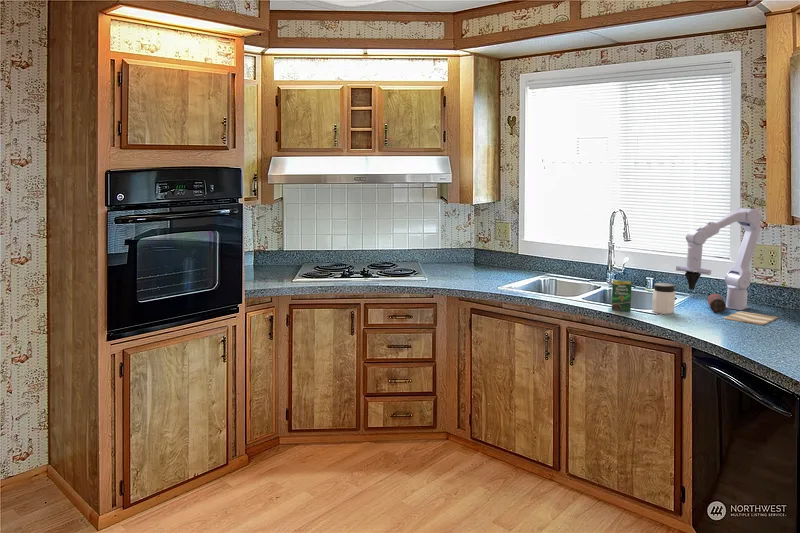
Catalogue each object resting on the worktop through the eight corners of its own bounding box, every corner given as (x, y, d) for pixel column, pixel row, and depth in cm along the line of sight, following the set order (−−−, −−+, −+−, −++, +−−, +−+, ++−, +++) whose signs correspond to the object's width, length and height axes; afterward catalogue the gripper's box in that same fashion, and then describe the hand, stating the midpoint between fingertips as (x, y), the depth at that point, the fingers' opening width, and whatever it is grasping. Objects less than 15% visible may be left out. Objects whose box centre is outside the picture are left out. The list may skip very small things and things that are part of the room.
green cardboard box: (610, 310, 289) (612, 280, 287) (611, 308, 292) (613, 279, 289) (630, 312, 286) (632, 281, 284) (630, 310, 288) (632, 280, 286)
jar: (649, 309, 291) (651, 282, 289) (668, 309, 291) (670, 282, 289) (656, 314, 282) (658, 286, 280) (676, 314, 282) (678, 286, 280)
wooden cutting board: (739, 312, 287) (739, 311, 287) (777, 318, 277) (777, 317, 277) (723, 318, 275) (723, 317, 275) (762, 325, 264) (762, 324, 264)
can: (711, 314, 286) (708, 308, 299) (727, 311, 284) (724, 304, 297) (707, 301, 286) (705, 295, 299) (723, 297, 284) (720, 291, 297)
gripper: (673, 257, 290) (671, 287, 292) (707, 261, 280) (704, 292, 282) (680, 255, 295) (678, 285, 297) (714, 259, 285) (711, 290, 287)
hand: (691, 289), depth 290 cm, fingers closed
